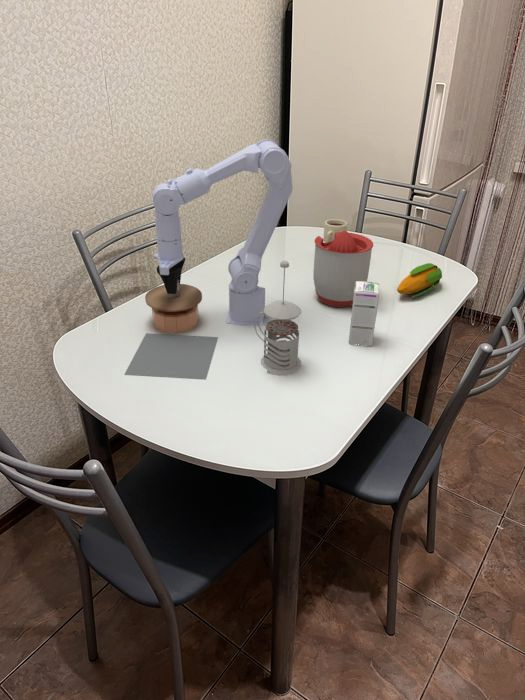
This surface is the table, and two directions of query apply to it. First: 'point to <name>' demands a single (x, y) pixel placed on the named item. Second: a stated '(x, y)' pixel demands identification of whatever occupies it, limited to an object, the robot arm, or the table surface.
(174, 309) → the lid
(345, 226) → the character mug
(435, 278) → the corn
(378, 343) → the table surface
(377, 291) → the syrup box
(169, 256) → the robot arm
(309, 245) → the table surface
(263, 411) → the table surface
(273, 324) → the french press
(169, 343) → the mat
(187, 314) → the bowl
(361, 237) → the citrus juicer
